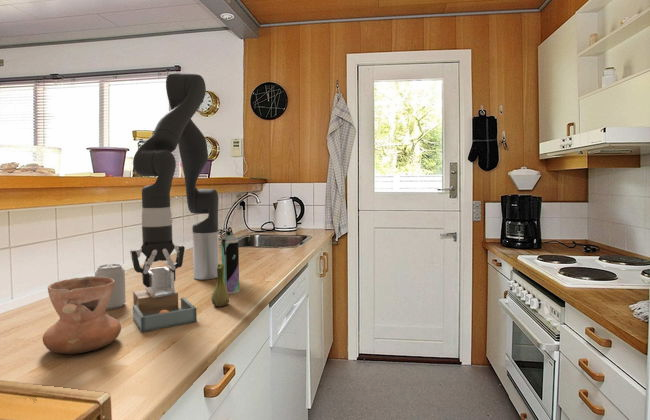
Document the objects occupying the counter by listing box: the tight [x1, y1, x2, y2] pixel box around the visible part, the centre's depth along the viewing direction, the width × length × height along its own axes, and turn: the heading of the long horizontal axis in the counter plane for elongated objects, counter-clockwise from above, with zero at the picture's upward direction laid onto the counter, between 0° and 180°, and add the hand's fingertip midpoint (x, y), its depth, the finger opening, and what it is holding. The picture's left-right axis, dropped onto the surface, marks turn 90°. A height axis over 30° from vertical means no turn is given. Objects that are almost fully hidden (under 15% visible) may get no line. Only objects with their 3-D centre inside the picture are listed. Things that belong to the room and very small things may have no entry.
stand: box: [132, 289, 179, 314], centre depth 111 cm, size 9×10×5 cm
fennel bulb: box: [211, 263, 230, 307], centre depth 115 cm, size 6×5×12 cm
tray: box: [132, 296, 198, 333], centre depth 103 cm, size 12×13×4 cm
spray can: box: [220, 230, 240, 295], centre depth 129 cm, size 6×6×20 cm
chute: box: [144, 266, 176, 298], centre depth 109 cm, size 9×6×6 cm, turn 35°
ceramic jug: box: [42, 275, 122, 355], centre depth 86 cm, size 18×14×14 cm
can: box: [94, 263, 127, 311], centre depth 114 cm, size 8×8×12 cm
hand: (159, 284), depth 109 cm, fingers closed on chute, 5 cm apart
